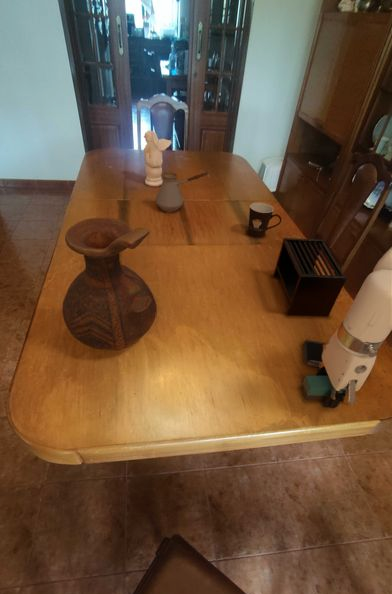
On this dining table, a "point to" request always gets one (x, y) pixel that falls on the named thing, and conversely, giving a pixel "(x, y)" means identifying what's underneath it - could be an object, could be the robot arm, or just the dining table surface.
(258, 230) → the coffee mug
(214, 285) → the dining table surface
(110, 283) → the jug
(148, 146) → the cherub figurine
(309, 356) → the phone
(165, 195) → the coffee pot
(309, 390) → the teal rectangular block
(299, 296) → the rack
